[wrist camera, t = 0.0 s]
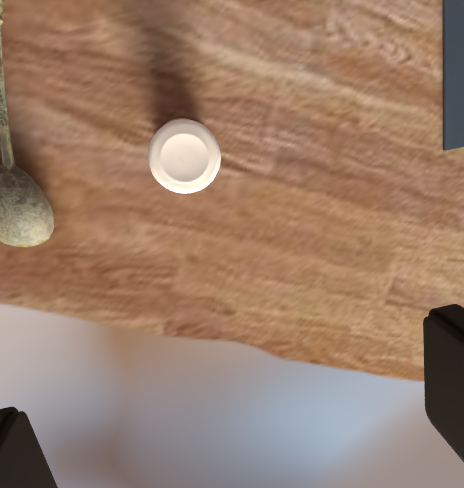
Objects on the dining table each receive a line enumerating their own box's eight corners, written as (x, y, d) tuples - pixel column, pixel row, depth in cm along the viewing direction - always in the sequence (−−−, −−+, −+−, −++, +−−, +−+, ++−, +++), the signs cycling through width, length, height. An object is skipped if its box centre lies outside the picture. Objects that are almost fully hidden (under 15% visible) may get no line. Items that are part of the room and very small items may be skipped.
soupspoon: (-13, 242, 38) (60, 244, 40) (-28, 255, 35) (52, 257, 37) (-44, -24, 31) (46, -11, 33) (-66, -37, 28) (35, -23, 29)
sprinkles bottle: (182, 107, 37) (187, 102, 24) (215, 145, 38) (236, 161, 25) (146, 141, 37) (131, 155, 24) (180, 178, 38) (182, 209, 26)
